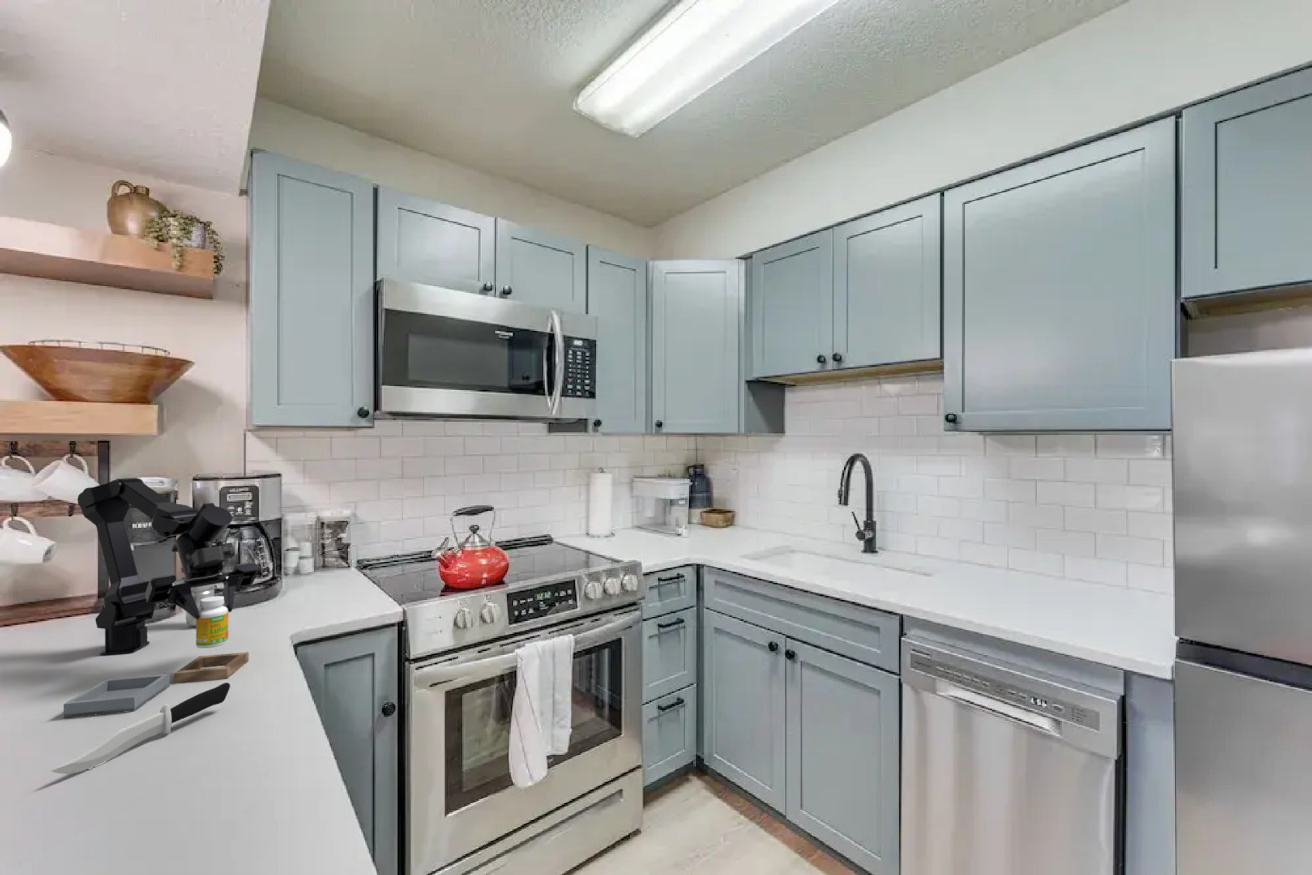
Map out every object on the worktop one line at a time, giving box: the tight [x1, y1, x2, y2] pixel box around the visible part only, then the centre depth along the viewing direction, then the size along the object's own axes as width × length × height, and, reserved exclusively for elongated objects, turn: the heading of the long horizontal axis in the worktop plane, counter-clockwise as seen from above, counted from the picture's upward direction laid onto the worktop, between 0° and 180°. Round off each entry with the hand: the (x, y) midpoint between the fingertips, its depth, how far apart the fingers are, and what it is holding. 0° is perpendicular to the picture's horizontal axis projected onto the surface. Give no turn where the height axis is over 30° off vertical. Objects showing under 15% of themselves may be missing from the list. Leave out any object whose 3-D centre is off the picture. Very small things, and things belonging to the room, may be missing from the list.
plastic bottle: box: [185, 584, 216, 627], centre depth 152 cm, size 6×7×20 cm
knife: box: [51, 682, 231, 775], centre depth 93 cm, size 25×2×5 cm, turn 163°
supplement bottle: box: [195, 595, 229, 649], centre depth 121 cm, size 5×5×10 cm
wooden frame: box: [173, 651, 250, 684], centre depth 121 cm, size 9×9×2 cm
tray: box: [63, 673, 171, 719], centre depth 107 cm, size 11×11×2 cm
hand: (214, 614), depth 120 cm, fingers closed on supplement bottle, 5 cm apart
